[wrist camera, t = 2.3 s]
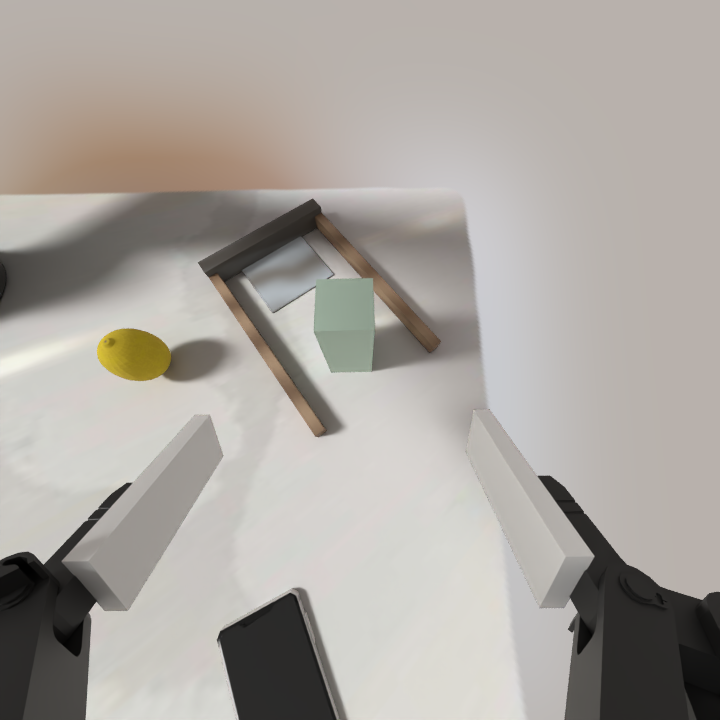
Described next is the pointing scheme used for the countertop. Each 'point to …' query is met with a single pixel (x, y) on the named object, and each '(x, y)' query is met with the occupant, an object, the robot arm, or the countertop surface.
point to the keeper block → (345, 323)
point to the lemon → (134, 354)
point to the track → (296, 282)
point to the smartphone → (275, 664)
